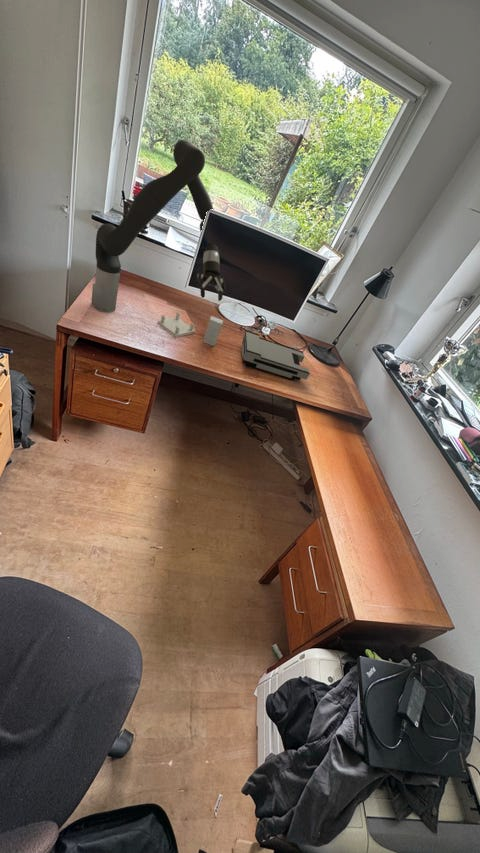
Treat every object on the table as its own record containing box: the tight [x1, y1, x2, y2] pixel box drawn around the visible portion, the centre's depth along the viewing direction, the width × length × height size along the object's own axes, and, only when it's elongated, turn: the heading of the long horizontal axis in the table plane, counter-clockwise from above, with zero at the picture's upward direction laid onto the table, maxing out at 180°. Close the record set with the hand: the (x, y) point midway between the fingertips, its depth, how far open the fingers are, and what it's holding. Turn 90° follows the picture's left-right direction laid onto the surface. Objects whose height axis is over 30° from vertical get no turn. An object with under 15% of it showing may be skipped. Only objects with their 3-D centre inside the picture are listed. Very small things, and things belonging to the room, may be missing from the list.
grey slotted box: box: [241, 329, 311, 382], centre depth 166 cm, size 21×32×8 cm, turn 91°
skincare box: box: [202, 315, 224, 347], centre depth 158 cm, size 6×4×12 cm
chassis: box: [157, 312, 196, 338], centre depth 159 cm, size 12×12×4 cm
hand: (211, 298), depth 159 cm, fingers open, 8 cm apart
